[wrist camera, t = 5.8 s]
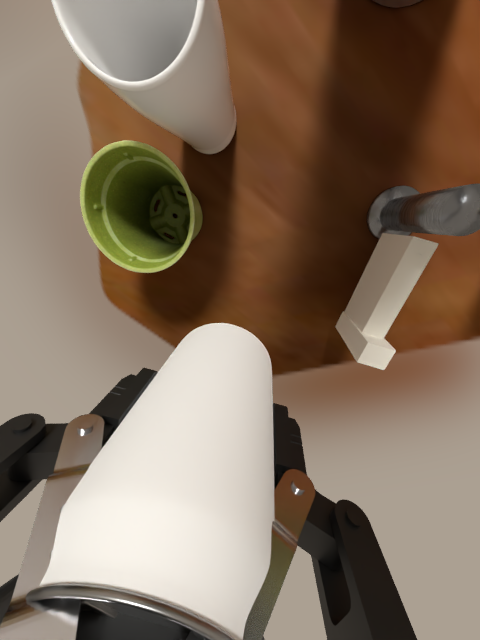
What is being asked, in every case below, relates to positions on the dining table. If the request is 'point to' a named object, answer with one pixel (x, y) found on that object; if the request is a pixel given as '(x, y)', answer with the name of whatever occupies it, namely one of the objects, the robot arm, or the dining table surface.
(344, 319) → the gate
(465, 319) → the dining table surface
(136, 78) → the white tapered cup
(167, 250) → the plant pot
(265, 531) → the can
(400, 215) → the hinge post
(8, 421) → the robot arm
